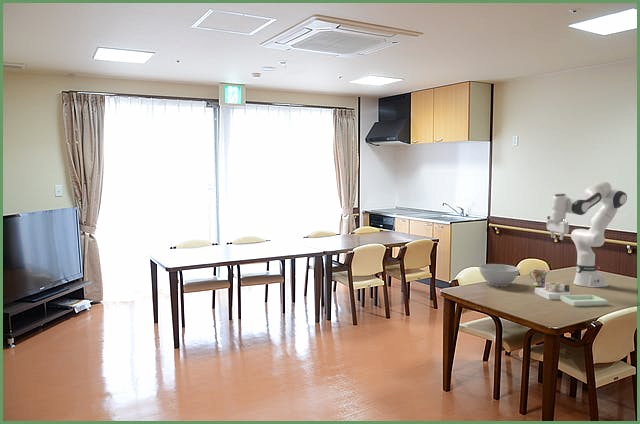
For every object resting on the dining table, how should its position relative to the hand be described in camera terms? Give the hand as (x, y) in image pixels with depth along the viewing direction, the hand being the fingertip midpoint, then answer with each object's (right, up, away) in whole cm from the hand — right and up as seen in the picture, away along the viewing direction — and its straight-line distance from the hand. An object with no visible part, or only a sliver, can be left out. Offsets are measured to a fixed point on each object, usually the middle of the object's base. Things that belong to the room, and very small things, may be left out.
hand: (556, 238), depth 344 cm
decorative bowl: (-33, -33, +18) cm, 50 cm away
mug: (-6, -34, +16) cm, 38 cm away
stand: (-8, -36, -12) cm, 39 cm away
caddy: (-5, -36, -11) cm, 38 cm away
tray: (+4, -38, -27) cm, 47 cm away
